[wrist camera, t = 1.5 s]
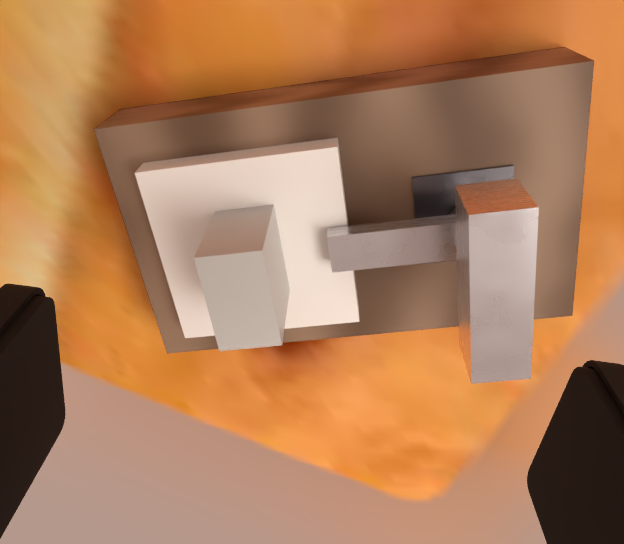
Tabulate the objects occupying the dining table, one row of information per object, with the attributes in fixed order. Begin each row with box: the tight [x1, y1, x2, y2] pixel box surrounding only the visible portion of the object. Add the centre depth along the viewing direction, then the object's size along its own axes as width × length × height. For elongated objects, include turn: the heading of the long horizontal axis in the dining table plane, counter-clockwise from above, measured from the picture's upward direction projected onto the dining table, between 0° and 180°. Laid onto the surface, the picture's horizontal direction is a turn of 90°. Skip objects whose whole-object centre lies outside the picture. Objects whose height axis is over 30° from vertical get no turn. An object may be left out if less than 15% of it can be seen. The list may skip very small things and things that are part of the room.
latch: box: [327, 178, 539, 384], centre depth 27 cm, size 8×8×8 cm
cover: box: [135, 138, 360, 351], centre depth 29 cm, size 10×10×6 cm
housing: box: [94, 47, 594, 353], centre depth 33 cm, size 24×14×4 cm, turn 98°
